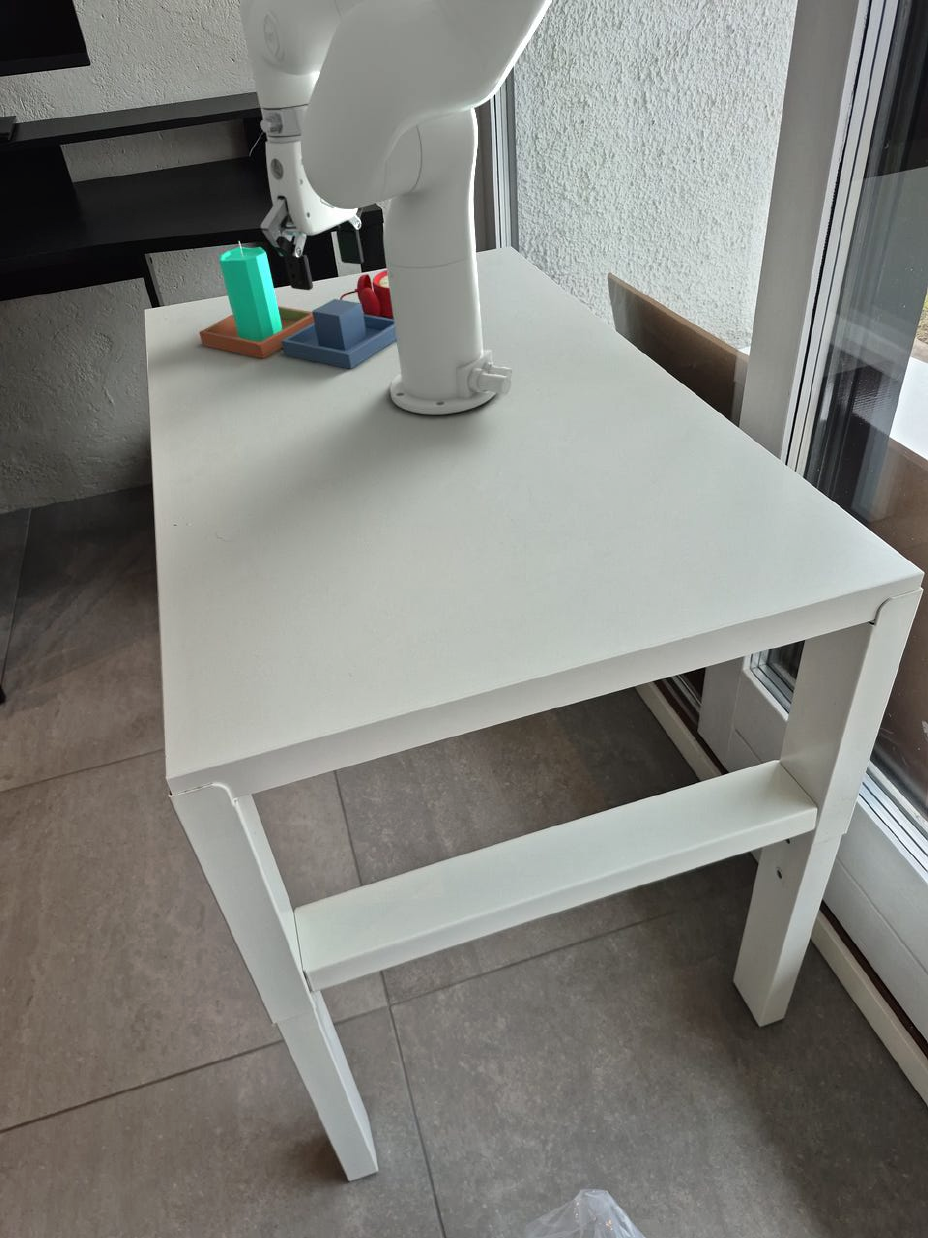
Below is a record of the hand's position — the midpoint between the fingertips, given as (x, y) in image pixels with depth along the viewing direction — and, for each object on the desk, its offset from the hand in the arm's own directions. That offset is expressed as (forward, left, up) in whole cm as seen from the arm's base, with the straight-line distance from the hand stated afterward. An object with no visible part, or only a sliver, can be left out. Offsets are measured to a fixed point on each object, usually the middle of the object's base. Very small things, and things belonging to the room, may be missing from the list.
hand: (328, 275), depth 112 cm
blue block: (0, 0, -9) cm, 9 cm away
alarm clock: (+1, -13, -9) cm, 16 cm away
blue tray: (0, 0, -9) cm, 9 cm away
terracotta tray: (+13, +2, -9) cm, 16 cm away
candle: (+13, +2, -9) cm, 15 cm away
